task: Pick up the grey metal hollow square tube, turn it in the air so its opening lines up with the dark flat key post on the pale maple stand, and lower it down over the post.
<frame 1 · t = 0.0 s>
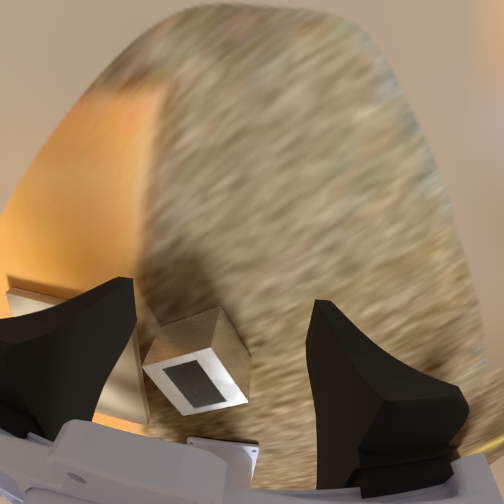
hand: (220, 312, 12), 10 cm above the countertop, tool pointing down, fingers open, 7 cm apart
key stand: (79, 358, 27), on the countertop
hollow square tube: (206, 343, 25), on the countertop
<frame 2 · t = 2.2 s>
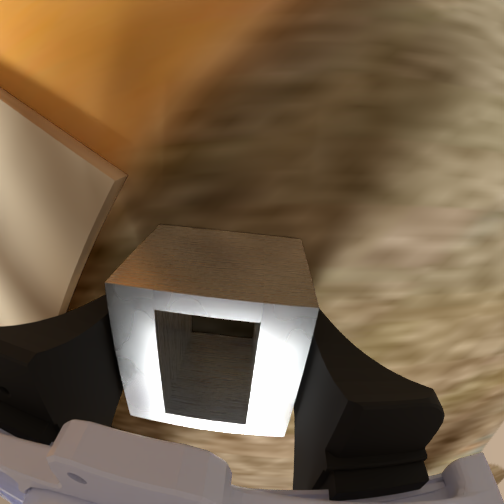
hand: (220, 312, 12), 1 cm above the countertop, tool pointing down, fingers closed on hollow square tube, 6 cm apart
hollow square tube: (224, 294, 14), on the countertop, touching gripper
when the fingers open (4 cm above the countertop, at t = 7.0 s): hollow square tube drops 1 cm, resting on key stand.
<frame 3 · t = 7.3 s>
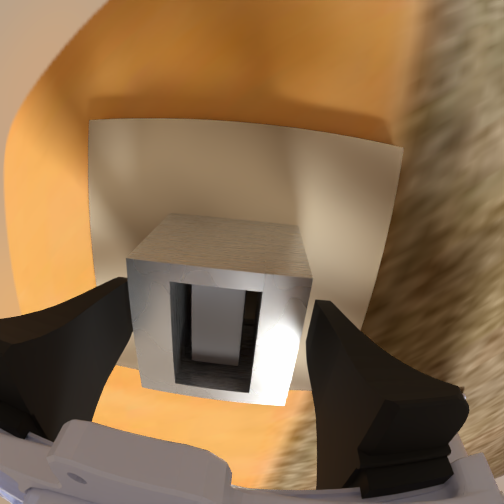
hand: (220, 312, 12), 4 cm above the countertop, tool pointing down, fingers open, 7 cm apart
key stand: (231, 267, 16), on the countertop
hollow square tube: (228, 276, 15), point 1 cm above the countertop, touching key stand
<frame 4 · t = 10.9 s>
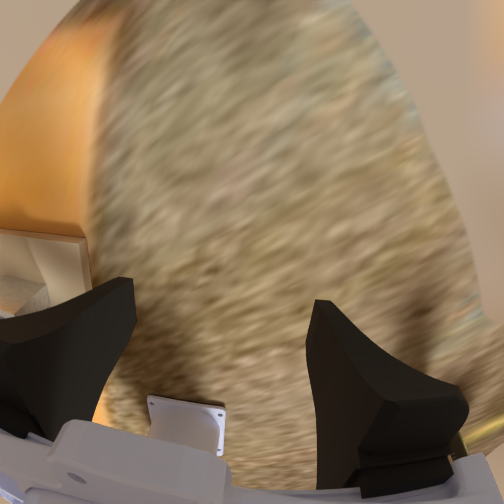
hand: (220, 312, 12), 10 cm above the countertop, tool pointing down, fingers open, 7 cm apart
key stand: (37, 300, 25), on the countertop
hollow square tube: (30, 305, 24), point 1 cm above the countertop, touching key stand
supplement bottle: (433, 436, 32), on the countertop
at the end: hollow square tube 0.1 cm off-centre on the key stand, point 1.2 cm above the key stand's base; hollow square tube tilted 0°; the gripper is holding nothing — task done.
